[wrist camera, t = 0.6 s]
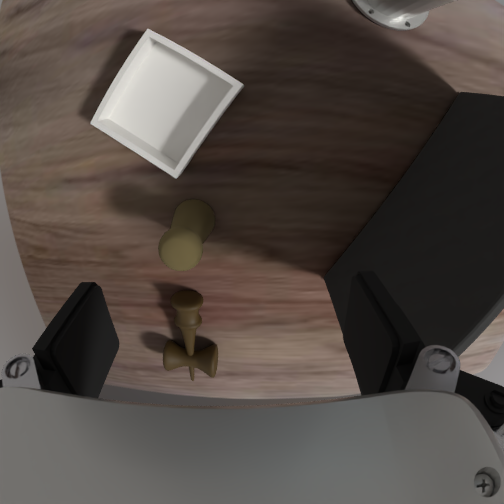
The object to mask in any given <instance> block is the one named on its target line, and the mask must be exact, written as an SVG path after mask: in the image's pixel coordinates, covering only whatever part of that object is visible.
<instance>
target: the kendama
mask: <svg viewBox="0 0 504 504" xmlns="http://www.w3.org/2000/svg"><path fill="white" fill-rule="evenodd" d="M202 304H203V297H202V295H201V294H199V293H197V292H195V291H190V290H184V291H179V292H177V293H175V294H174V295H173V296H172V297H171V305H172V306H173V308H175V309H176V310H177V315H176V317H175V318H174V323H175V325H176V326H178V327H180V329H181V332H182V335H183V339H184V343H185V347H186V349H185V348H182V347H181V346H179V345H177V344H176V343H175V342H173V341H171V340H169V341H167V343H166V345H165V348H164V353H163V365H164V368H165V369H166V370H167V371H169V370H172V369H175V368H178V367H182V366H188V367H189V370H190V377H191V380H192V381H194V368H198V369H200V370H202V371H203V372H205V373H206V374H207V375H209V376H210V377H212V378H214V376H215V374H216V370H217V363H218V347H217V345H216V344H213V345H211V346H209V347H207V348H205V349H202V350H194V343H195V334H196V329H197V327H199V326H200V325H201V323H202V318H201V316H200V315H199V313H198V311H199V308H200V307H201V306H202Z"/></svg>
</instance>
